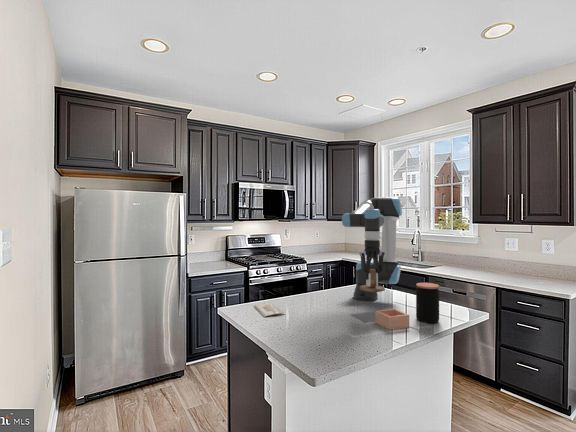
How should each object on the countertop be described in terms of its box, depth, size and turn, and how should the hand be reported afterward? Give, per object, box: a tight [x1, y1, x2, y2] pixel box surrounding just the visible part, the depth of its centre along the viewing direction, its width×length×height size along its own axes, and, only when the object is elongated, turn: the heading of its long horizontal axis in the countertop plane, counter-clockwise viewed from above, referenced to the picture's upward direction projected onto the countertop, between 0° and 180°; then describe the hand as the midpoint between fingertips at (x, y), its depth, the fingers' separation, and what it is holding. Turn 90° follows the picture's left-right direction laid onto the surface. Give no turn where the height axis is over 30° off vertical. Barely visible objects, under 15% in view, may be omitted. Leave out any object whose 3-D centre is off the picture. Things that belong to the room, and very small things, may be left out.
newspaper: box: [253, 302, 287, 318], centre depth 185 cm, size 23×12×2 cm, turn 20°
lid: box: [360, 269, 386, 293], centre depth 169 cm, size 12×12×10 cm
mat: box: [349, 311, 376, 324], centre depth 172 cm, size 14×14×1 cm
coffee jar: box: [415, 282, 440, 325], centre depth 167 cm, size 11×11×18 cm
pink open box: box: [375, 308, 410, 330], centre depth 160 cm, size 11×11×6 cm
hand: (372, 285), depth 169 cm, fingers closed on lid, 4 cm apart
